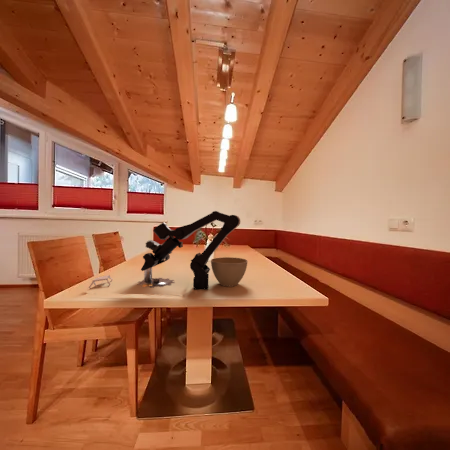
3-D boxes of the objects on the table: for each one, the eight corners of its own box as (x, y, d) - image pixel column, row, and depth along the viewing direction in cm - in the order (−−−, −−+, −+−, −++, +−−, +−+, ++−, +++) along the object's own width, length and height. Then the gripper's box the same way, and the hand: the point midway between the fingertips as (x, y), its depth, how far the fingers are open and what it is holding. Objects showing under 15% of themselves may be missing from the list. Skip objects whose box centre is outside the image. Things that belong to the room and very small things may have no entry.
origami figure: (107, 292, 102) (107, 280, 101) (87, 292, 101) (87, 280, 101) (118, 284, 114) (118, 274, 113) (100, 284, 113) (100, 274, 113)
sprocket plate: (177, 281, 122) (177, 275, 122) (171, 291, 105) (171, 284, 105) (143, 280, 122) (143, 274, 122) (131, 290, 105) (131, 283, 105)
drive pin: (152, 279, 118) (153, 257, 118) (150, 281, 114) (151, 258, 114) (145, 279, 118) (145, 257, 118) (143, 281, 114) (143, 258, 114)
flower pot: (222, 278, 132) (223, 256, 131) (252, 283, 122) (253, 259, 122) (203, 285, 116) (203, 260, 116) (235, 291, 107) (236, 264, 107)
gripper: (164, 233, 124) (144, 253, 126) (147, 235, 106) (123, 259, 108) (178, 249, 123) (157, 269, 125) (164, 254, 105) (139, 278, 107)
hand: (145, 268), depth 116 cm, fingers open, 7 cm apart
